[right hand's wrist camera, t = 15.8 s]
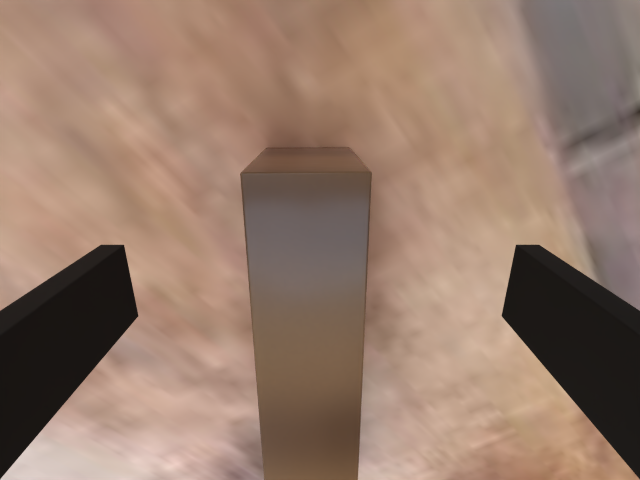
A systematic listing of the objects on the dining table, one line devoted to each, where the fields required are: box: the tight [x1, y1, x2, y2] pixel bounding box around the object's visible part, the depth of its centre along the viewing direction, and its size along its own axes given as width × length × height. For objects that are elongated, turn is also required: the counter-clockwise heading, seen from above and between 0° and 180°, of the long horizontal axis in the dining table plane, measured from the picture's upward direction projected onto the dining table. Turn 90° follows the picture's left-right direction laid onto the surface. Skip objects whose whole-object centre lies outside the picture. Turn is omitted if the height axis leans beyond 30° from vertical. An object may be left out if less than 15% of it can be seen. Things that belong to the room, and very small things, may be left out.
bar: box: [240, 148, 372, 480], centre depth 23 cm, size 27×5×9 cm, turn 0°
